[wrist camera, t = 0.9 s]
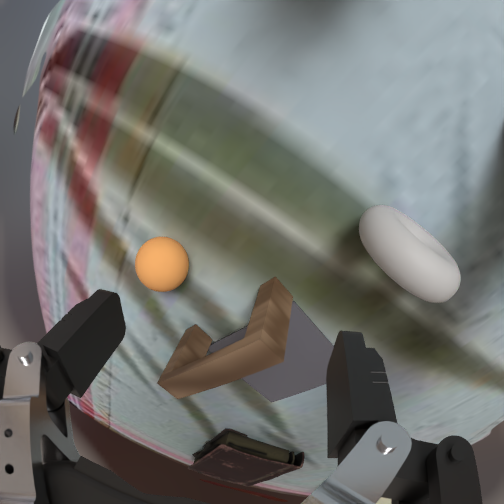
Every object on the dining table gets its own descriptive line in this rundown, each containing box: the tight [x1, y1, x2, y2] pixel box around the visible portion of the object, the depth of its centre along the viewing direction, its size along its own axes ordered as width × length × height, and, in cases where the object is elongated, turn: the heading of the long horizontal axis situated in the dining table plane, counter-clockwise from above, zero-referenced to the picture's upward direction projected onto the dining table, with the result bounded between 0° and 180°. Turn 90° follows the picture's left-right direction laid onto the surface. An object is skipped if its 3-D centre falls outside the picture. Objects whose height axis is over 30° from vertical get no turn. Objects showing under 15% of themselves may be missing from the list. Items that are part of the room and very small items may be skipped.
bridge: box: [158, 277, 293, 399], centre depth 29 cm, size 3×14×9 cm, turn 131°
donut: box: [359, 205, 461, 303], centre depth 20 cm, size 10×3×10 cm, turn 65°
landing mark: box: [208, 301, 334, 402], centre depth 35 cm, size 14×14×1 cm
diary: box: [188, 429, 304, 487], centre depth 51 cm, size 19×25×5 cm
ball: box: [135, 237, 189, 292], centre depth 28 cm, size 6×6×6 cm
